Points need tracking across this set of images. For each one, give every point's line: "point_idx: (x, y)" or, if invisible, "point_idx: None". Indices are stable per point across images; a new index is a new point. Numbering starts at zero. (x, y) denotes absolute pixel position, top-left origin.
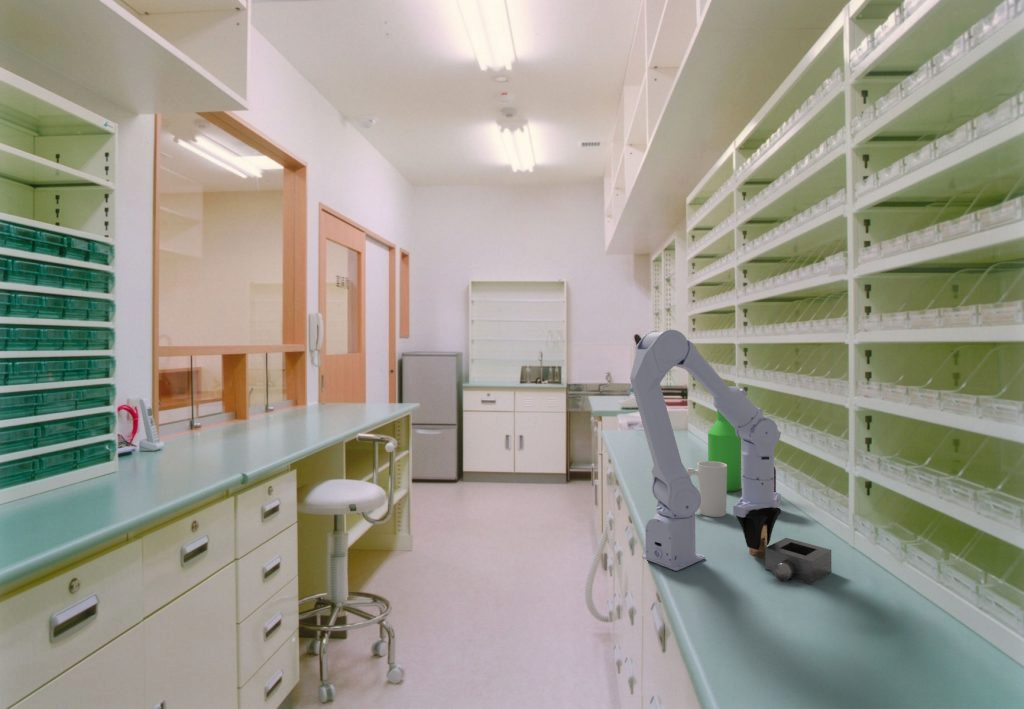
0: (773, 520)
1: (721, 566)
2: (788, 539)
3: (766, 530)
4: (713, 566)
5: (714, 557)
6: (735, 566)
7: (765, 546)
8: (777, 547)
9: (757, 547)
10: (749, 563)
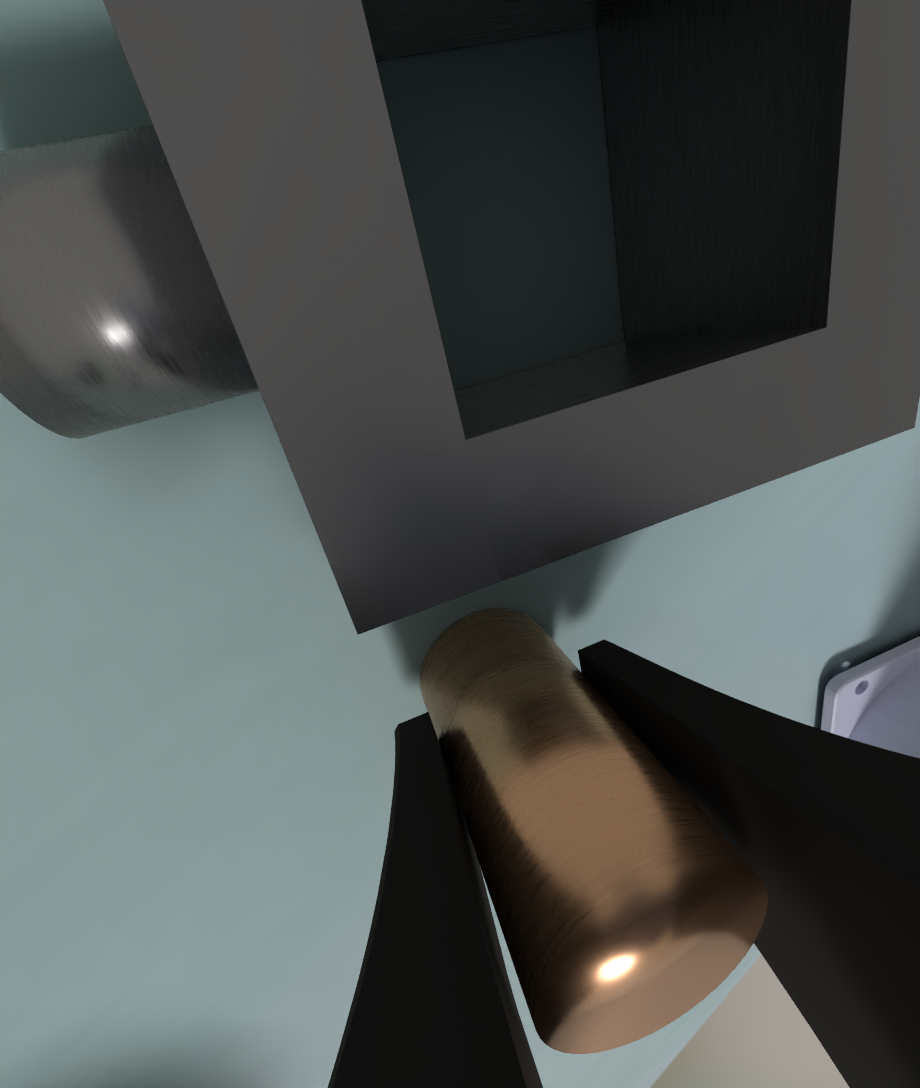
0: (478, 1049)
1: (849, 563)
2: (393, 556)
3: (578, 815)
4: (876, 578)
5: (765, 685)
6: (796, 534)
7: (514, 663)
8: (818, 360)
9: (623, 648)
10: (688, 544)
